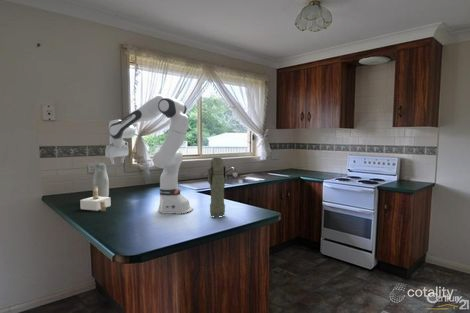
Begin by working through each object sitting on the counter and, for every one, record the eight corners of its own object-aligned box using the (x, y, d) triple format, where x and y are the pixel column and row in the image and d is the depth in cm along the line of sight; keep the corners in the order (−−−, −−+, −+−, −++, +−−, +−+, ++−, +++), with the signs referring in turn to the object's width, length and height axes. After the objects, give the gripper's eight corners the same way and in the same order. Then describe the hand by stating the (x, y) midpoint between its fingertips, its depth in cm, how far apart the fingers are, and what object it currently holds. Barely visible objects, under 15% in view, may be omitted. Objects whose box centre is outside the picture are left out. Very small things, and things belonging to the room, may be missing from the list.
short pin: (106, 210, 188) (106, 201, 188) (103, 211, 186) (103, 202, 185) (102, 210, 189) (102, 201, 189) (99, 211, 186) (99, 202, 186)
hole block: (110, 205, 201) (110, 197, 200) (96, 210, 188) (96, 201, 188) (95, 204, 204) (94, 196, 204) (80, 209, 192) (80, 200, 191)
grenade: (205, 216, 174) (204, 158, 172) (220, 212, 182) (220, 157, 180) (214, 219, 168) (213, 159, 165) (229, 215, 176) (229, 157, 173)
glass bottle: (91, 201, 213) (89, 163, 211) (100, 198, 223) (99, 162, 221) (102, 202, 210) (101, 164, 208) (111, 199, 220) (110, 162, 218)
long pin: (99, 207, 197) (98, 186, 196) (96, 208, 194) (95, 187, 193) (95, 206, 198) (95, 186, 197) (92, 207, 195) (91, 187, 194)
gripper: (110, 143, 190) (111, 164, 190) (129, 142, 209) (130, 161, 210) (102, 143, 191) (103, 164, 192) (122, 143, 211) (123, 162, 212)
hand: (117, 163), depth 201 cm, fingers open, 8 cm apart
